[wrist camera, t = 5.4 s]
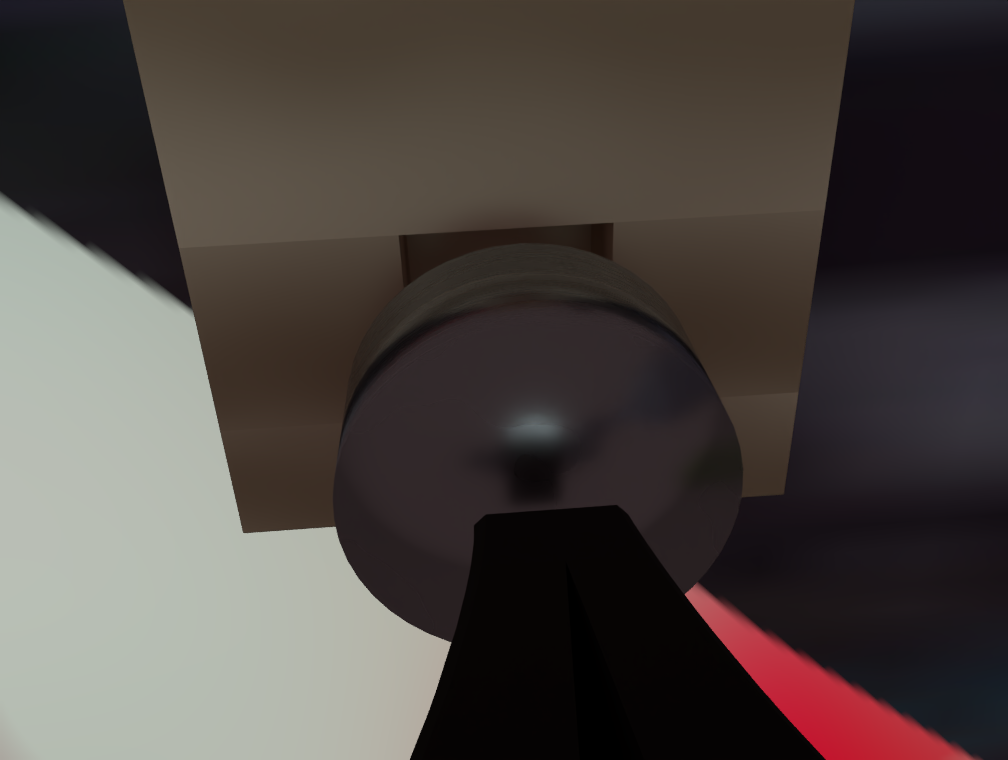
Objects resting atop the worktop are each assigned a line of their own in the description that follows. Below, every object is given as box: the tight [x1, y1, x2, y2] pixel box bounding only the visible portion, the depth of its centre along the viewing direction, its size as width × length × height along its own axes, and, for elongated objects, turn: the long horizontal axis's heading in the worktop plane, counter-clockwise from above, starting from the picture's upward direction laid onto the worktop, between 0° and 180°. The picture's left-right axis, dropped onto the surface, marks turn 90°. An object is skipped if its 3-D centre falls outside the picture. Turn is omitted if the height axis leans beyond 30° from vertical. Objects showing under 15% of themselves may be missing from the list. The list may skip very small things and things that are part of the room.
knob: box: [333, 243, 743, 642], centre depth 12 cm, size 4×4×4 cm
